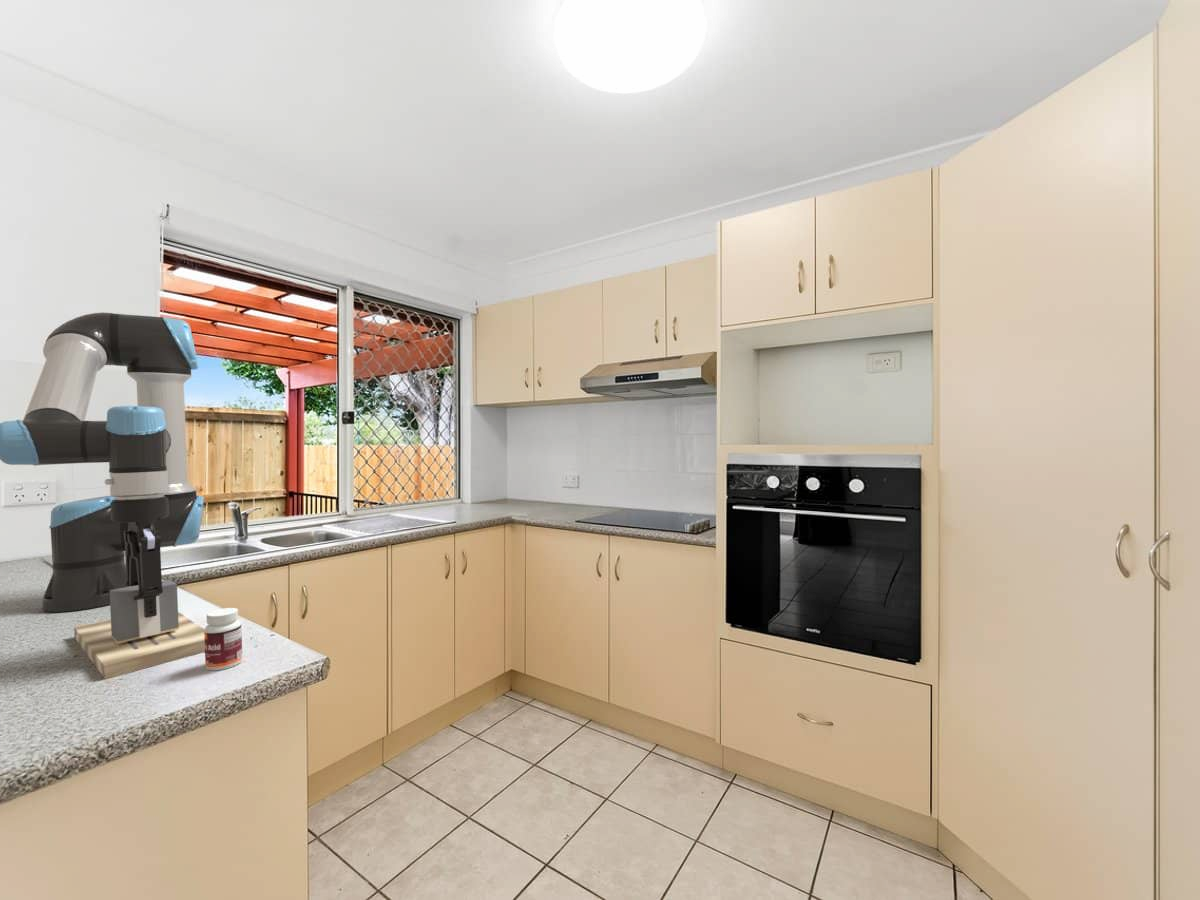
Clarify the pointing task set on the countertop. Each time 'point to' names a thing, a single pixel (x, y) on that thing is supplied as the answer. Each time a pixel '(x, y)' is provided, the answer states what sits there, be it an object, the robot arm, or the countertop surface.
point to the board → (138, 647)
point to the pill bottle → (223, 639)
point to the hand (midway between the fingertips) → (145, 631)
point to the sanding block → (127, 611)
